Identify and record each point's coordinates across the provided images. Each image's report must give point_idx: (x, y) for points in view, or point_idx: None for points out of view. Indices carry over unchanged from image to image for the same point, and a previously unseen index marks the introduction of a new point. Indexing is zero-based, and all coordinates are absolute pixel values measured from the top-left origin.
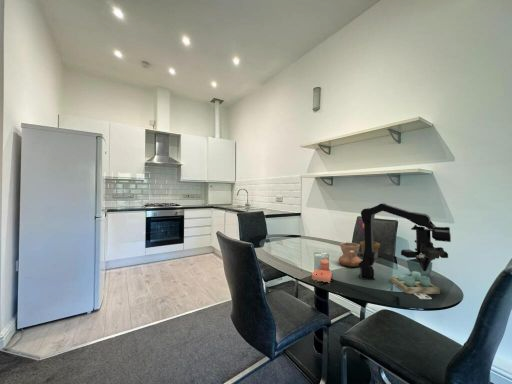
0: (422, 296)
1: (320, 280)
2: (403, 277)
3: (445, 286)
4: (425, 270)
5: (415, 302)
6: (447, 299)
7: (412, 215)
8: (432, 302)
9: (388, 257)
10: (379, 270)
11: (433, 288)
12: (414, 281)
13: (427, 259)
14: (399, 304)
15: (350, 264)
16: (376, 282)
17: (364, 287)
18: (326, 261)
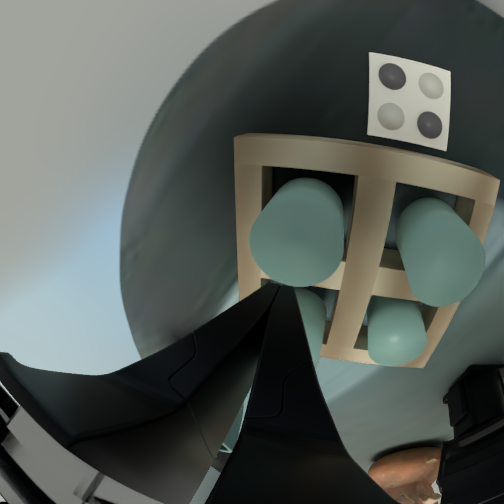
0: (422, 88)
1: None
2: (410, 327)
3: (152, 244)
4: (273, 288)
5: (496, 46)
6: (257, 49)
7: None
8: (397, 15)
9: (228, 456)
10: (349, 428)
11: (285, 139)
12: (427, 220)
13: (146, 447)
14: None
15: (439, 452)
16: (495, 334)
17: None
18: None
